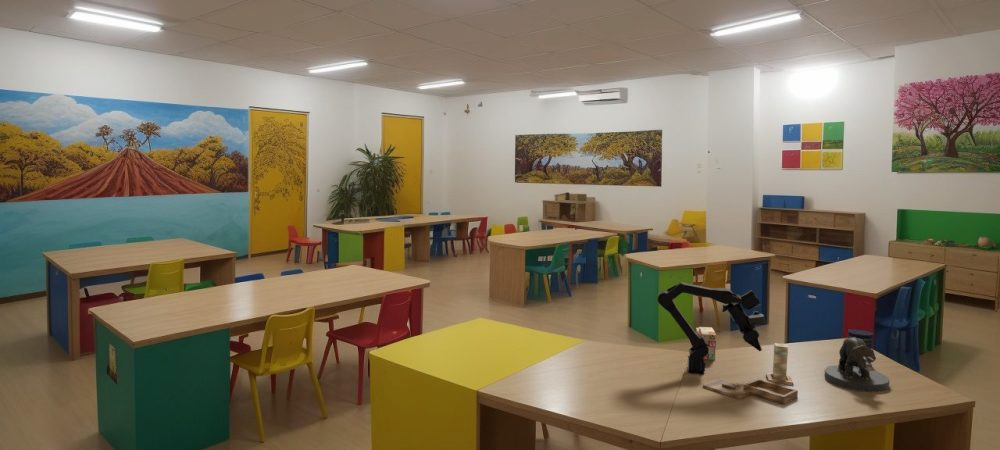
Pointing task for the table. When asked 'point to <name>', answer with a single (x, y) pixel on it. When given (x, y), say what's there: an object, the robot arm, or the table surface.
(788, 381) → the square wooden frame
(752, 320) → the robot arm
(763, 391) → the tan wooden shallow tray
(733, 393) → the lid
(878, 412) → the table surface
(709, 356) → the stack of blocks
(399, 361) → the table surface
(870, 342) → the storage jar
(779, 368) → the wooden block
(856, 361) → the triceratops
